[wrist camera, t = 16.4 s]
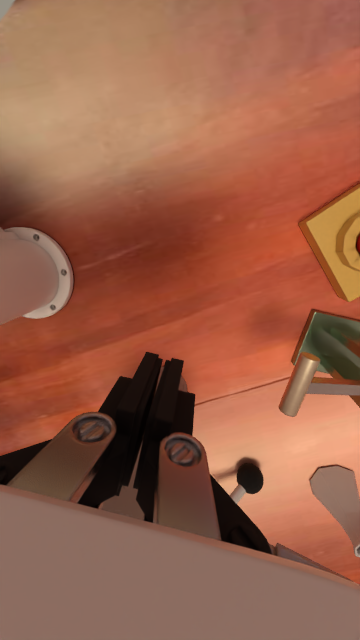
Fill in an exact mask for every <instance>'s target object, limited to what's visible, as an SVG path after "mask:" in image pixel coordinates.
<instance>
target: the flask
mask: <svg viewBox="0 0 360 640" xmlns="http://www.w3.org/2000/svg"><path fill="white" fill-rule="evenodd" d="M310 483H311V488H312V492H313V494H314V495H315V497H316V498H317V499H318V500H319V501H320V502H321V503H322V504H323V505H324V506H325V507H326V508H327V510H328V511H329V512H330V513H331V514H332V515H333V516H334V518H335V519H336V520H337V521H338V522H339V523H340V524H341V526H342V527H343V529H344V530H345V532H346V533H347V535H348V536H349V538H350V540H351V542H352V544H353V548H354V553H355V555H356V556H357V557H360V499H359V495H358V489H357V484H356V479H355V474H354V472H353V471H350V470H347V469H345V468H342V467H339V466H333V467H326V468H319V469H318V470H317V472H316V473H315V474H314V476H313V477H312V479H311V480H310Z"/></svg>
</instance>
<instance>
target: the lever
mask: <svg viewBox="0 0 360 640" xmlns="http://www.w3.org/2000/svg"><path fill="white" fill-rule="evenodd" d="M319 363H320V359H319V358H318V357H317V356H315V355H313V354H310V353H307V352H301V353H300V355H299V357H298V360H297V362H296V365H295V367H294V370H293V372H292V375H291V377H290V380H289V382H288V385H287V387H286V389H285V392H284V394H283V397H282V399H281V402H280V404H279V409H280V411H281V412H282V413H284V414H285V415H288V416H291V417H295V416H296V415H297V413H298V411H299V408H300V406H301V404H302V402H303V399H304V397H305V395H306V394H329V395H356V396H360V380H352V379H335V378H319V377H313V376H314V374H315V372H316V370H317V367H318V365H319Z"/></svg>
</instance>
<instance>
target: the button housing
mask: <svg viewBox="0 0 360 640" xmlns="http://www.w3.org/2000/svg"><path fill="white" fill-rule="evenodd" d="M298 225H299V227H300V228H301V230H302V232H303V234H304V236H305V238H306V239H307V241H308V243H309V245H310V247H311V248H312V250H313V252H314V254H315V256H316V258H317V259H318V261H319V263H320V265H321V267H322V268H323V270H324V272H325V274H326V276H327V278H328V279H329V281H330V283H331V285H332V287H333V288H334V290H335V292H336V294H337V296H338V297H339V298H341V299H343V300H346V301H348V302H350V301H352V300H354V299H356V298H358V297H359V296H360V253H359V251H358V249H357V239H358V237H359V235H360V183H359V184H358V185H356V186H355V187H353V188H351V189H350V190H348V191H347V192H345V193H344V194H342V195H341V196H339V197H338V198H336V199H335V200H333V201H332V202H330V203H329V204H327V205H326V206H324V207H323V208H321V209H320V210H318V211H317V212H315V213H314V214H312V215H311V216H309V217H308V218H306V219H304V220H303V221H301V222H300V223H298Z"/></svg>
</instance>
